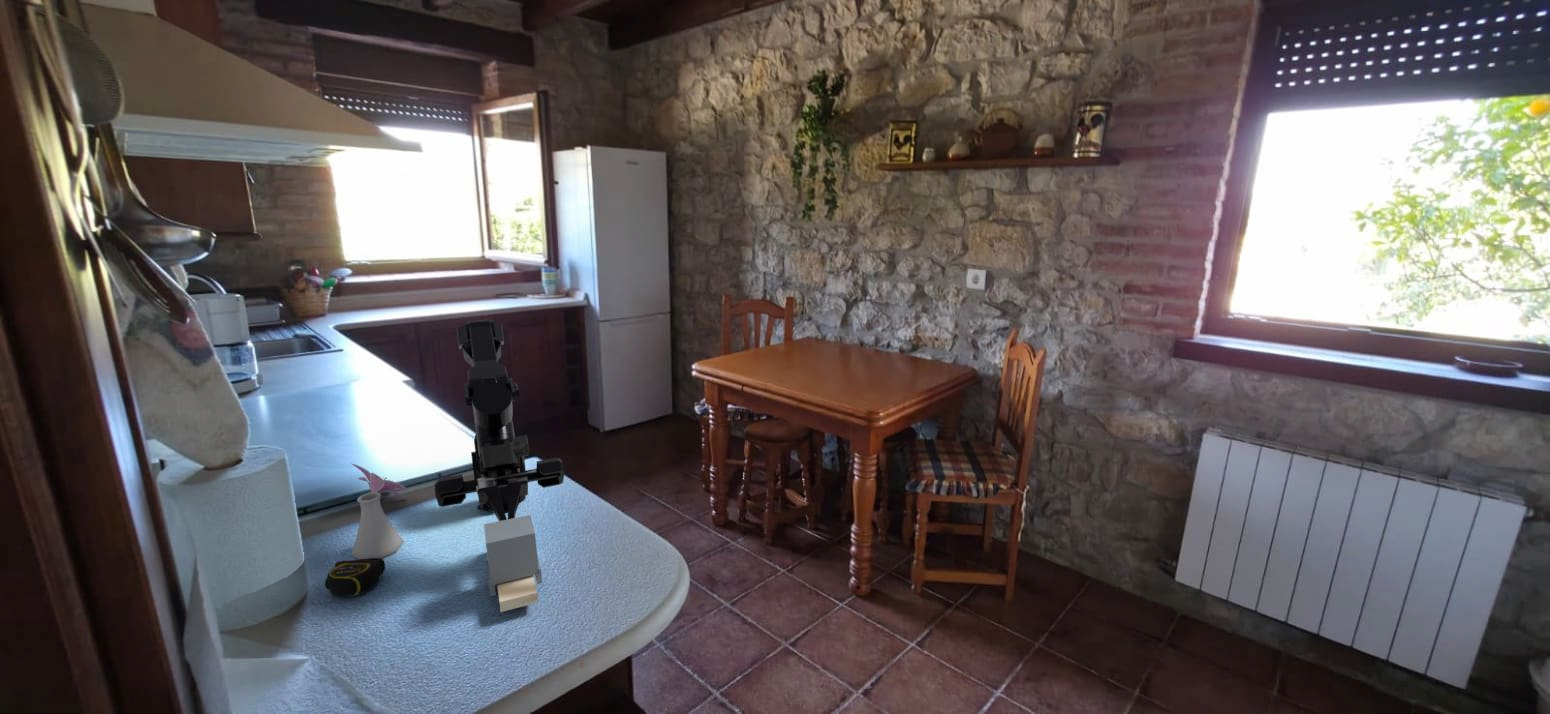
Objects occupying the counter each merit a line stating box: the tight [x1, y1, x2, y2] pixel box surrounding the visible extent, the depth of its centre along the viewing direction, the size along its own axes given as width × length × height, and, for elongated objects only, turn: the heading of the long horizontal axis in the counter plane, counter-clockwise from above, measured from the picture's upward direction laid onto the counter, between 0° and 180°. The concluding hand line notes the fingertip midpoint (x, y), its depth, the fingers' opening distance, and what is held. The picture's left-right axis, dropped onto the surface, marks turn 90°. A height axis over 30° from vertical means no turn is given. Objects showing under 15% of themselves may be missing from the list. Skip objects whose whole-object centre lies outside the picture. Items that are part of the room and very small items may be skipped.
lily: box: [350, 462, 407, 501], centre depth 121 cm, size 11×11×9 cm
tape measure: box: [324, 558, 386, 598], centre depth 97 cm, size 7×7×4 cm
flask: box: [350, 491, 405, 560], centre depth 106 cm, size 7×7×10 cm
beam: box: [496, 575, 539, 613], centre depth 99 cm, size 20×5×3 cm, turn 26°
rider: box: [483, 514, 543, 597], centre depth 96 cm, size 6×7×8 cm
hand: (509, 533), depth 98 cm, fingers closed, pressing on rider
